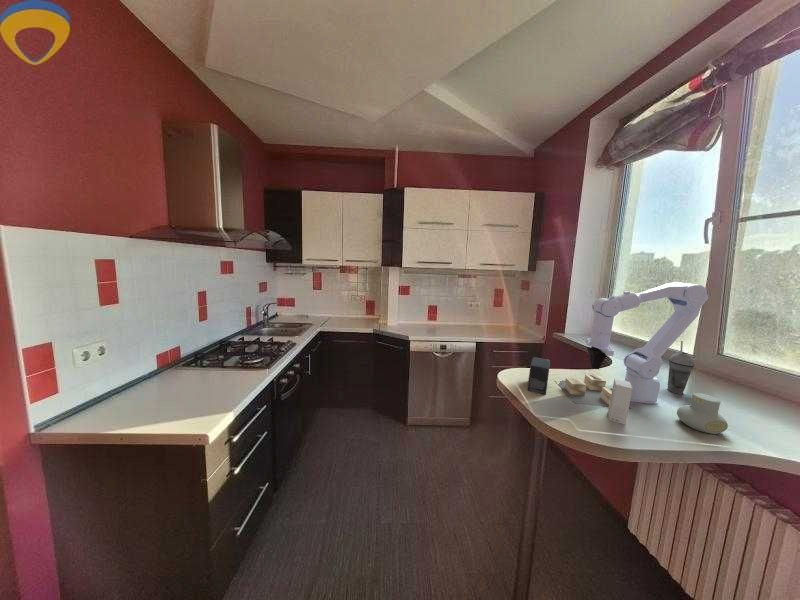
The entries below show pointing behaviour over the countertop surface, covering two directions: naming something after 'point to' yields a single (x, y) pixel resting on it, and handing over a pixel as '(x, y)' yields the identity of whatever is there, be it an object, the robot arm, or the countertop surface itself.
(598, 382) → the marked block
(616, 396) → the skincare box
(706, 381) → the countertop surface
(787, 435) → the countertop surface
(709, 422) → the air freshener
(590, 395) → the mat
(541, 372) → the small box
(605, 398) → the marked block
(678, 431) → the countertop surface
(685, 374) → the beverage cup
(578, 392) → the plain block
